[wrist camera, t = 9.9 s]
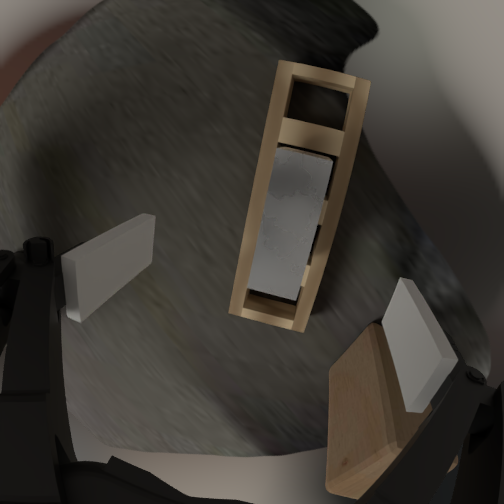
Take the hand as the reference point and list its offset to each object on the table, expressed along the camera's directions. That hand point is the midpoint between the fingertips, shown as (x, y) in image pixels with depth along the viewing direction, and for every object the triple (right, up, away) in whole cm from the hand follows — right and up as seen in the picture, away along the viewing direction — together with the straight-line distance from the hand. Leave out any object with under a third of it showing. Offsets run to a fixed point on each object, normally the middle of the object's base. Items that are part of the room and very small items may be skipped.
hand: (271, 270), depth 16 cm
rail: (+4, +7, +18) cm, 20 cm away
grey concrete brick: (+4, +7, +18) cm, 20 cm away
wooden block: (+16, -14, +23) cm, 31 cm away
